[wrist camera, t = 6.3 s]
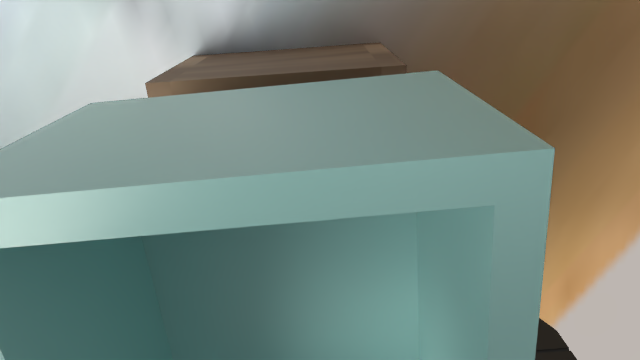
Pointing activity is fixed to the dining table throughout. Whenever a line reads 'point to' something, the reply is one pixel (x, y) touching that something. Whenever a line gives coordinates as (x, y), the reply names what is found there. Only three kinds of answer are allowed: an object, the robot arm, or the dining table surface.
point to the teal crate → (277, 227)
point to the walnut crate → (275, 68)
